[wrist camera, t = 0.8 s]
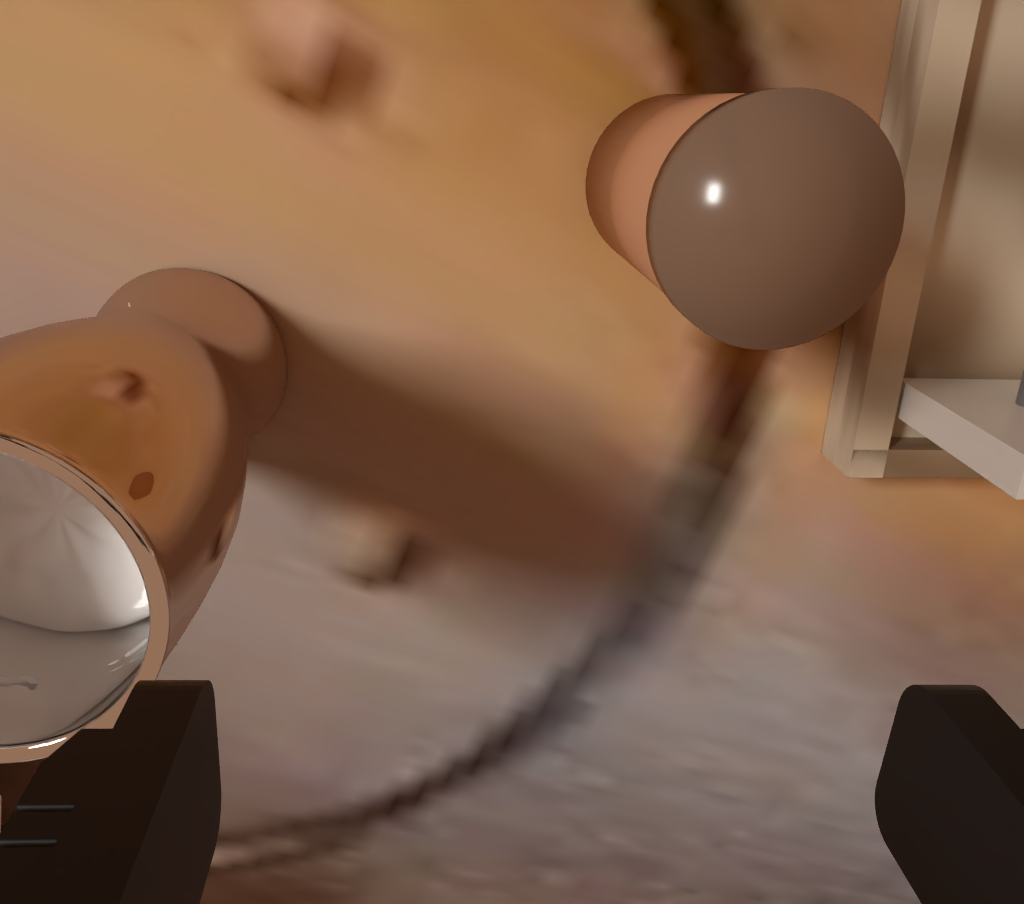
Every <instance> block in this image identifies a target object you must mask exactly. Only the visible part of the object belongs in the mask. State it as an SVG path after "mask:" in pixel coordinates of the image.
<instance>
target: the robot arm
mask: <svg viewBox="0 0 1024 904" xmlns="http://www.w3.org/2000/svg"><path fill="white" fill-rule="evenodd" d="M875 810H876V816H877V821H878V825H879V828H880V832H881V834H882V837H883V839H884V841H885V843H886V845H887V847H888V848H889V850H890V852H891V853H892V855H893V857H894V858H895V860H896V862H897V863H898V865H899V867H900V868H901V870H902V872H903V873H904V875H905V877H906V878H907V880H908V882H909V883H910V885H911V887H912V888H913V890H914V892H915V893H916V895H917V897H918V898H919V900H920V902H921V903H922V904H1024V729H1020V728H1019V727H1018V726H1017V724H1016V723H1015V722H1014V721H1013V720H1012V719H1011V718H1010V717H1009V716H1008V715H1007V714H1006V712H1005V711H1004V710H1003V709H1002V708H1001V707H1000V706H999V705H998V704H997V703H996V702H995V700H994V699H993V698H992V697H991V696H990V695H989V694H988V693H987V692H986V691H985V690H984V689H982V688H980V687H978V686H975V685H911V686H909V687H908V688H906V690H905V691H904V692H903V694H902V695H901V698H900V701H899V704H898V707H897V711H896V715H895V718H894V722H893V726H892V729H891V733H890V736H889V740H888V744H887V747H886V751H885V755H884V758H883V762H882V766H881V769H880V773H879V777H878V780H877V784H876V789H875ZM220 812H221V780H220V766H219V752H218V738H217V724H216V710H215V697H214V690H213V686H212V683H211V682H210V681H209V680H140V681H138V682H137V683H136V684H135V685H134V687H133V689H132V691H131V693H130V695H129V697H128V699H127V701H126V703H125V705H124V707H123V709H122V711H121V713H120V715H119V717H118V719H117V721H116V723H115V725H114V727H113V729H80V730H79V731H78V732H77V733H76V734H74V735H73V736H72V737H71V738H70V739H69V740H67V741H66V742H65V743H64V744H63V745H61V746H60V747H59V748H58V749H57V750H56V751H54V752H53V753H52V754H51V755H50V756H49V757H47V758H46V759H45V760H44V761H43V762H41V764H40V765H39V767H38V769H37V771H36V772H35V774H34V776H33V777H32V779H31V781H30V783H29V784H28V786H27V788H26V790H25V791H24V793H23V795H22V796H21V798H20V800H19V802H18V803H17V810H16V812H12V814H11V815H10V817H9V819H8V821H7V822H6V824H5V826H4V828H3V829H2V831H1V833H0V904H199V903H200V900H201V896H202V893H203V889H204V886H205V882H206V879H207V875H208V872H209V868H210V865H211V861H212V858H213V854H214V850H215V846H216V842H217V836H218V830H219V823H220Z"/></svg>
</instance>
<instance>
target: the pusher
mask: <svg viewBox="0 0 1024 904" xmlns="http://www.w3.org/2000/svg"><path fill="white" fill-rule="evenodd" d="M895 416H896V417H898V418H899V419H900V420H902V421H903V422H905V423H906V424H908V425H909V426H911V427H912V428H913V429H915V430H916V431H918V432H919V433H921V434H922V435H924V436H925V437H926V438H928V439H929V440H931V441H932V442H934V443H935V444H937V445H938V446H939V447H941V448H942V449H944V450H945V451H947V452H948V453H950V454H951V455H952V456H954V457H955V458H957V459H958V460H960V461H961V462H963V463H964V464H965V465H967V466H968V467H970V468H971V469H973V470H974V471H976V472H977V473H978V474H980V475H981V476H983V477H984V478H986V479H987V480H989V481H990V482H991V483H993V484H994V485H996V486H997V487H999V488H1000V489H1002V490H1003V491H1004V492H1006V493H1007V494H1009V495H1010V496H1012V497H1013V498H1015V499H1024V370H1023V374H1022V378H1021V380H1003V379H936V378H903V382H902V387H901V391H900V396H899V401H898V406H897V411H896V415H895Z"/></svg>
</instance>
